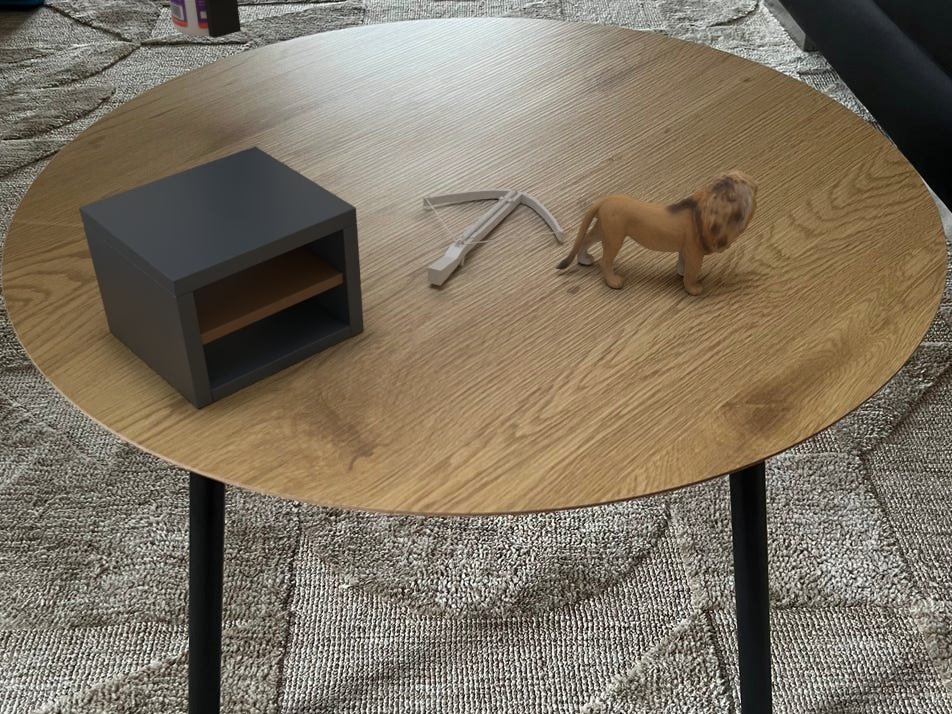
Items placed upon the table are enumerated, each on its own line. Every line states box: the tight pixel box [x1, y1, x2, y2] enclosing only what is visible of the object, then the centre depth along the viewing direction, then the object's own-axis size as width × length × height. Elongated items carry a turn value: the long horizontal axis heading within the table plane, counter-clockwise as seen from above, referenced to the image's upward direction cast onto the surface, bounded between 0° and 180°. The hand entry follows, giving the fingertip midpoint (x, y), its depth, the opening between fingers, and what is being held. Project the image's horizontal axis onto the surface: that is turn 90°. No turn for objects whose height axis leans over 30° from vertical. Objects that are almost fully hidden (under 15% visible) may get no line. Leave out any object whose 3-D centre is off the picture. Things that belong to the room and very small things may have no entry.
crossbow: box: [422, 188, 565, 286], centre depth 89 cm, size 16×13×2 cm
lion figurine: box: [555, 169, 760, 296], centre depth 83 cm, size 15×5×9 cm, turn 90°
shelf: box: [78, 146, 365, 410], centre depth 77 cm, size 12×14×10 cm
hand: (205, 22), depth 96 cm, fingers closed on pill bottle, 5 cm apart
